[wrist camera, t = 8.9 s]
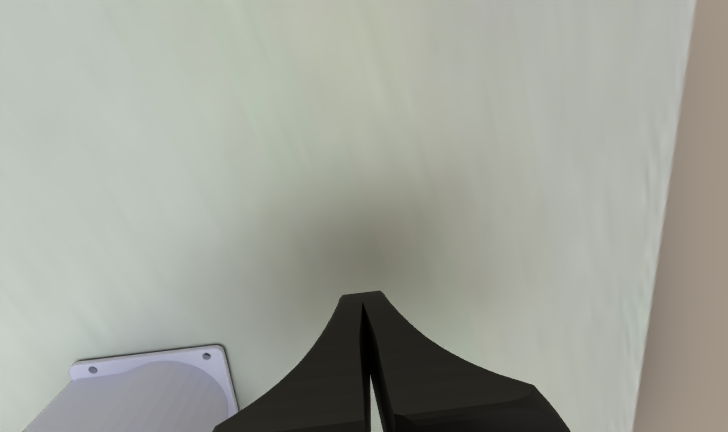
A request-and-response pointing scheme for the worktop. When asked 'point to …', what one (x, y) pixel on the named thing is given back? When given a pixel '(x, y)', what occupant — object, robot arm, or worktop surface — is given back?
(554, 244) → the worktop surface
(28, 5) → the worktop surface
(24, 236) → the worktop surface
